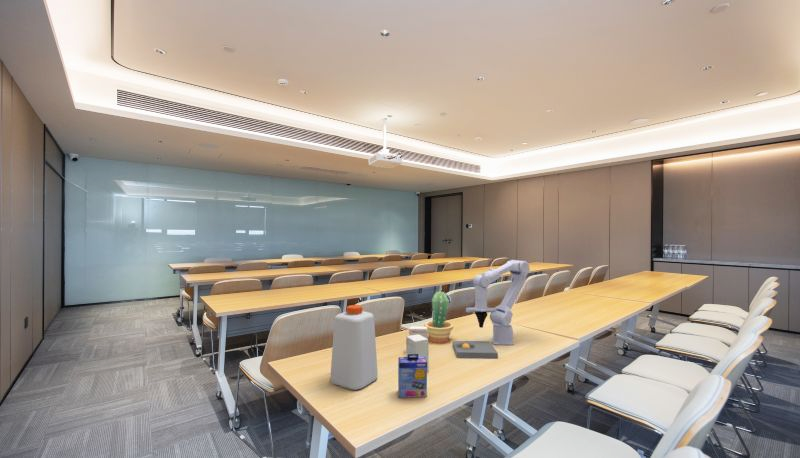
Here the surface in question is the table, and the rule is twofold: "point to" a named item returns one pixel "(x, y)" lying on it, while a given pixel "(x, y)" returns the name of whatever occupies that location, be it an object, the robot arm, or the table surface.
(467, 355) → the hole board
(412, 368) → the ink cartridge box
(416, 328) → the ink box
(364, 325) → the plastic bottle
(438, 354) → the table surface
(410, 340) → the small box
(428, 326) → the potted cactus
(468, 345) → the ball
